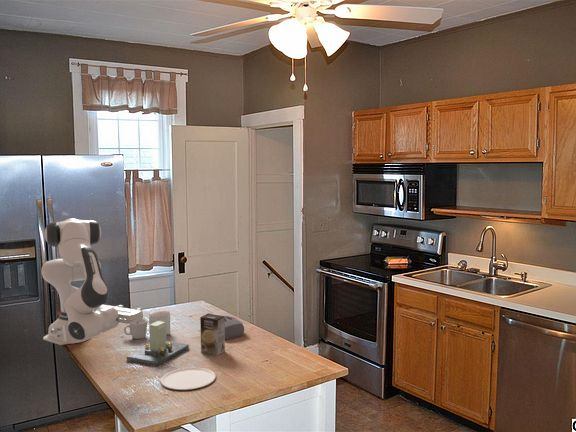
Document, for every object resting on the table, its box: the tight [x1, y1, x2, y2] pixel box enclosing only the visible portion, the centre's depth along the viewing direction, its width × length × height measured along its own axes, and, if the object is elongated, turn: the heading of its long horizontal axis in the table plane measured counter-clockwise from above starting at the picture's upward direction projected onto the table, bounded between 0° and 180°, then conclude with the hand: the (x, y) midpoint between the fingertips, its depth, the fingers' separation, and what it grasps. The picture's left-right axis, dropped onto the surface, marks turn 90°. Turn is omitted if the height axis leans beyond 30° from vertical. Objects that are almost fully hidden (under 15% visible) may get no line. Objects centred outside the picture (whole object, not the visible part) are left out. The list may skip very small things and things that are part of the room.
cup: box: [123, 318, 148, 340], centre depth 251 cm, size 11×8×8 cm
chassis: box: [126, 340, 190, 368], centre depth 229 cm, size 16×22×5 cm
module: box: [148, 321, 167, 353], centre depth 228 cm, size 4×6×12 cm
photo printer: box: [148, 309, 171, 336], centre depth 255 cm, size 10×4×12 cm, turn 123°
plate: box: [160, 366, 217, 391], centre depth 202 cm, size 21×21×1 cm
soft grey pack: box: [224, 315, 245, 340], centre depth 257 cm, size 15×8×20 cm
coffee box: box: [199, 313, 226, 356], centre depth 231 cm, size 9×6×16 cm
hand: (131, 308), depth 214 cm, fingers open, 8 cm apart
